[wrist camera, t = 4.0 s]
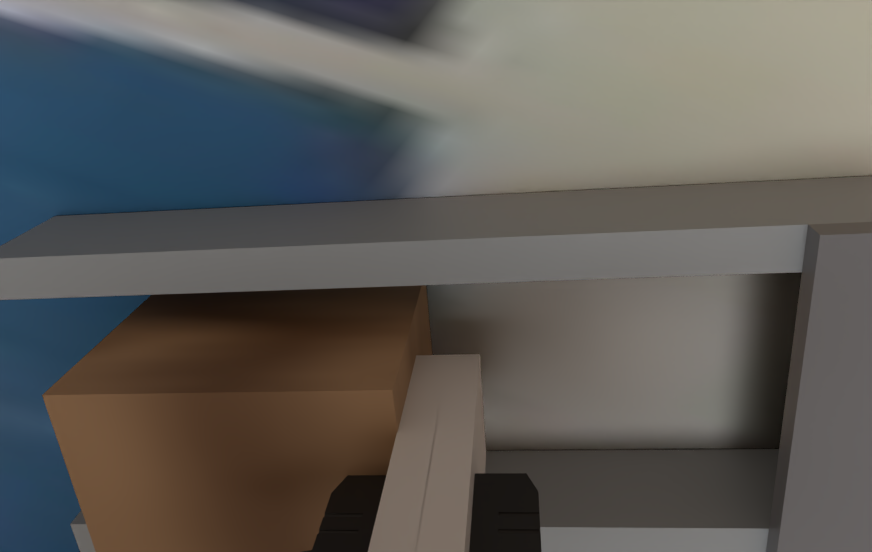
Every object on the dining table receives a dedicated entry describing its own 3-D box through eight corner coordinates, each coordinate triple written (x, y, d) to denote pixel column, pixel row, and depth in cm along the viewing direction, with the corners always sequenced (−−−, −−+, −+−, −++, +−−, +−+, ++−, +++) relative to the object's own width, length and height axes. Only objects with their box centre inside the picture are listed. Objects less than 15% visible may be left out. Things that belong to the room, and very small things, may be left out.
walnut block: (200, 423, 21) (101, 568, 16) (165, 282, 19) (41, 395, 14) (438, 421, 20) (414, 573, 15) (425, 273, 18) (392, 389, 13)
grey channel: (134, 479, 22) (67, 570, 19) (54, 216, 19) (-44, 269, 15) (825, 478, 20) (888, 582, 16) (874, 175, 16) (966, 228, 13)
